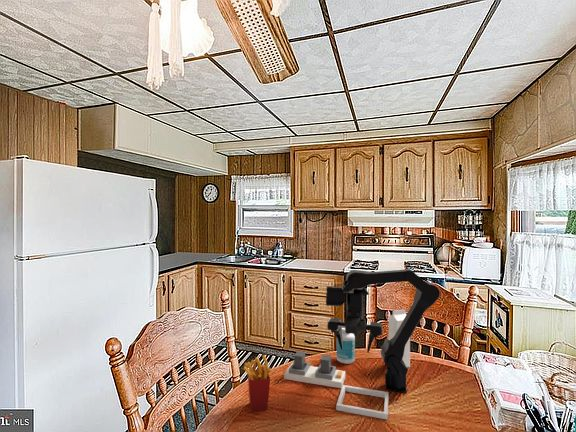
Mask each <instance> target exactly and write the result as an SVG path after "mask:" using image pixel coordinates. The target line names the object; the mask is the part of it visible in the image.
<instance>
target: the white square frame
mask: <svg viewBox="0 0 576 432" xmlns="http://www.w3.org/2000/svg"><path fill="white" fill-rule="evenodd" d="M340 389H341V390H340V391H339V392H340V394H339V396H338V398H337V402H336V407H335V410H336V411H340V412H345V413H349V414H355V415H360V416H366V417H371V418H378V419H383V420H388V412H389V392H388V391H382V390H376V389H372V388H365V387H359V386H358V387H357V386H351V385H346V384H343V386H342V388H340ZM346 392H348V393H353V394H354V393H355V394H358V395H359V394H360V395H366V396H372V397H377V398H383V399H384V404H383V405H384V407H383V411H380V410H375V409H371V408H363V407H358V406H352V405H347V404H343V401H344V397H345V394H346Z"/></svg>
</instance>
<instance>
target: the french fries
mask: <svg viewBox="0 0 576 432" xmlns="http://www.w3.org/2000/svg"><path fill="white" fill-rule="evenodd" d="M261 356H262V360H263V362H264V363H261V361H260V359H259V358H258V357H256V356H255V358H254V359H252V360H251V361H247V362H245V363H244V367H243V370H244V371H245V372H246V373H247V381H248V382H247V384H248V396H249V406H250V412H251V413H255V412H263V411H268V405H269V398H270V397H269V396H270V386H271V385H270V384H271V377H270V374H269V373H270V371H271V369H272V368H271V367H268V360H267V357H266V355H265V354H263V355H261ZM256 368H257V369H256Z"/></svg>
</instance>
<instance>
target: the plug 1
mask: <svg viewBox="0 0 576 432" xmlns="http://www.w3.org/2000/svg"><path fill="white" fill-rule="evenodd" d="M293 362H294V369H299V370H304V368H305V362H306V352H305V351H302V350H301V351H300V350H297V351H296V353H295V354H294V355H293Z"/></svg>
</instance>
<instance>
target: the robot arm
mask: <svg viewBox="0 0 576 432" xmlns="http://www.w3.org/2000/svg"><path fill="white" fill-rule="evenodd" d="M345 277H346V279H345V280H344V281H343V282H342V284H341V285H340V286H332V285H328V286H326V294H325V306H327V307H330V306H331V307H342V306H343V305H344V304H345V303H346V316H345V321H342V319H341V318H337V317H331V318H330V319H329V320H328V322H327V330H329V331H331V333H334V335H335V336H336V340H337V339H338V342H339V345H340V348H341V349H343V339H342V328H345V332H346V333H348V334H349V333H352V334H354V335H360V333H361V331H362V332H363V331H369V334H368V341H367V349H366V350H367V353H368V354H369V353H370V349H371V346H372V343H373V341H374V340H375V338H379V336H382V335H383V323H382V322H379V321H378V322H377V321H376V322H375V321H370V324H367V322H366V321H367V320H366V319H364V295H365V296H368V295H369V294H370V293H369V291H368V290H367V289H366V287H368V286H371V285H376V284H387V283H389V284H390V283H400V282H401V283H403V282H405V283H406V282H408V283H409V284H410V285H412V286H413V287H414V288H415V289H416V290H415V291H414V292H415V293H414V297H413V303H412V305H411V306H410V308H409V310H408V311H407V313H406V316H405V318H404V320H403V322H402V323H401V325H400V327H399V329H398V330H397V332H396V334H395V336H394V337H393V338H392V339H390V340H389V338H387V337H386V338H385V339H384V342H383V344H382V345H380V349H381V350H380V354H381V359H382V360H383V362H384V364H385V366H386V370H385V371H384V372H385V373H384V375H385V378H384V379H385V382H384V383H385V384H384V385H385V386H386V390H388V391H393V392H399V393H405V394H406V393H408V392H407V391H408V390H407V374H408V371H409V367H406V365H405V363H404V361H403V360H402V358H403V355H404V349H405V345H406V343H407V342H408V340H409V338H410V339H411V336H412V335H413V333H414V331H415V330H416V328H417V326H418V324H419V323H420V320H421V319H422V317H423V315H424V314H425V312H426V311H427V310H428V309H429V308H431V307H433V305H434V304H435V303H436V302H437V301H438V300H439V298H440V295H441V292H440V289H439V287H437V286H436V285H435V284H433V283H431V281H430V282H429V281H427V280H426V281H425V280H424V279H423V278H421V277H420V276H419V275H418V274H416V272H415V271H414V270H412V269H411V268H404V269H396V270H395V269H394V270H383V271H382V270H381V271H368V270H367V271H366V270H359V269H352V270H349V272H348V273H347V274H346V276H345Z"/></svg>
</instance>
